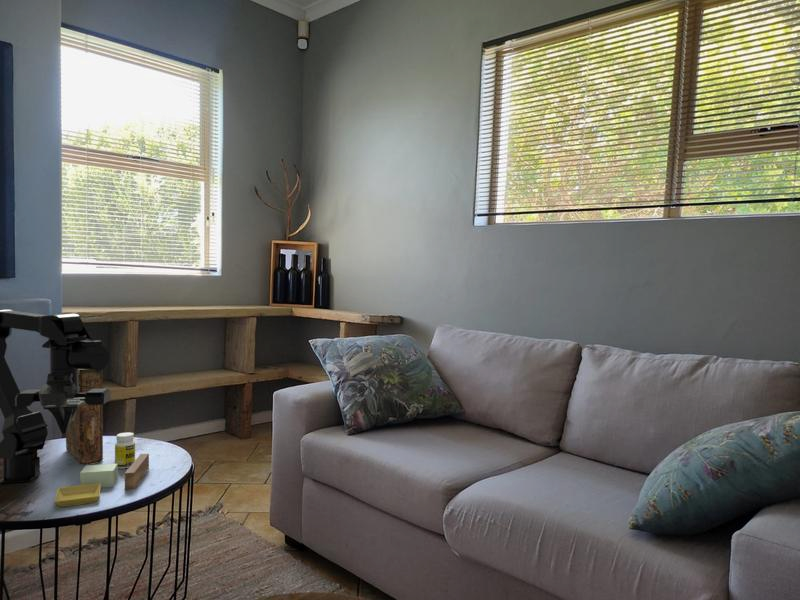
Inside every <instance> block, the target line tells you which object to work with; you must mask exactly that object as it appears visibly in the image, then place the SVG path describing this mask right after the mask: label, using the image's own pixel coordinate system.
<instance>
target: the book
mask: <svg viewBox="0 0 800 600" xmlns="http://www.w3.org/2000/svg"><path fill="white" fill-rule="evenodd" d="M78 370H80V374H78V387H80V391H78V393H86V392H88V391H90V390H91V389H104V388H103V387H104V386H103V369H102V370H99V371H98V370H86V369H78ZM66 405H67V401H66ZM103 407H104V404H102V405H88V404H87V403H86V402H85V404H83V405H82V406H80V407H79V408H78V410H77V411H76V413H75V415H74V417H73V420H72V422H71V424H70V427H69V429H68V432H67V433H66V434H65V448H66V451H67V453H68V454H69V455H70V456H71V457H72V458H73V459H74V460H75V461H76V462H77V463H78V464H79V465H80V466H87V465H86V464H88V465H94V464H98V463H101V462H103V461H102V460H104V452H103V451H104V449H103V448H104V443H103V442H104V439H103V437H104V435H103V433H104V430H103V429H104V426H103V423H104V422H103V421H104V420H103V419H104V416H103V412H104V411H103V410H104V409H103ZM100 461H101V462H100ZM97 462H98V463H97ZM93 463H94V464H93Z"/></svg>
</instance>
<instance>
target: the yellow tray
mask: <svg viewBox="0 0 800 600" xmlns="http://www.w3.org/2000/svg"><path fill="white" fill-rule="evenodd" d="M101 488H102V487H101V483H94V484H86V485H80V484H79V485H73V486H72V485H70V486H63V487H58V488H57V490H56V494H55V497H54V500H53V501H54V503H55V504H56V505H57V506H59V507H60V508H63V507H64V508H65V507H71V506H78V505H84V504H85V505H86V504H91V503H96V502H97V500H98V499H99V498H100V496H101Z"/></svg>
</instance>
